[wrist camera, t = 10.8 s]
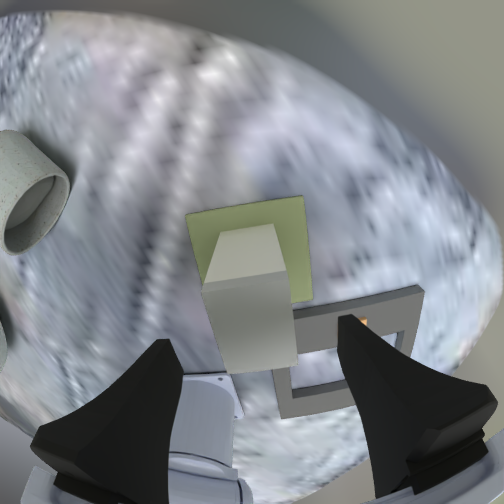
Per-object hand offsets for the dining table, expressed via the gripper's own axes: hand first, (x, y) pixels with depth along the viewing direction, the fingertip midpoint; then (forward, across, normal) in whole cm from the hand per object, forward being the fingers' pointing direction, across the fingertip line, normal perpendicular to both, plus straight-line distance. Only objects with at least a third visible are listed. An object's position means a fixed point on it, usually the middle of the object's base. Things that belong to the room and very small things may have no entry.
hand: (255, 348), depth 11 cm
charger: (+9, 0, 0) cm, 9 cm away
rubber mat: (+9, 0, 0) cm, 9 cm away
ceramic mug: (+10, +17, -9) cm, 22 cm away
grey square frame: (+9, -7, +12) cm, 17 cm away
